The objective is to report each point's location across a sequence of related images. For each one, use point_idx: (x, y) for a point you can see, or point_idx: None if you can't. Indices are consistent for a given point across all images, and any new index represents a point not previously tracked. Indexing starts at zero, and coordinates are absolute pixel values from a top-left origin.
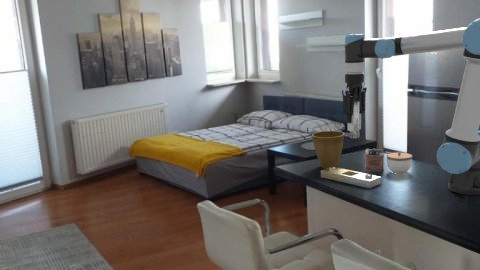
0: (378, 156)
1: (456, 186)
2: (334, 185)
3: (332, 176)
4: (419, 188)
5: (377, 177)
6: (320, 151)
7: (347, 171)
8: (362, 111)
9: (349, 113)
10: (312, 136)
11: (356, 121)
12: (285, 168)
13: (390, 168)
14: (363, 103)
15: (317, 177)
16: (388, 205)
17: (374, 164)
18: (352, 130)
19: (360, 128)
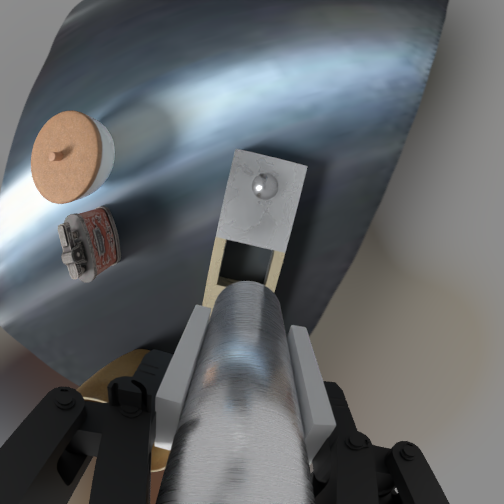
0: (85, 228)
1: None
2: (319, 279)
3: None
4: (231, 40)
5: (250, 157)
6: None
7: (224, 286)
8: (111, 404)
9: (404, 448)
10: (162, 467)
11: (279, 359)
12: None
13: (109, 173)
14: (36, 477)
15: None
16: (410, 82)
17: (104, 236)
18: (305, 333)
19: (201, 309)
